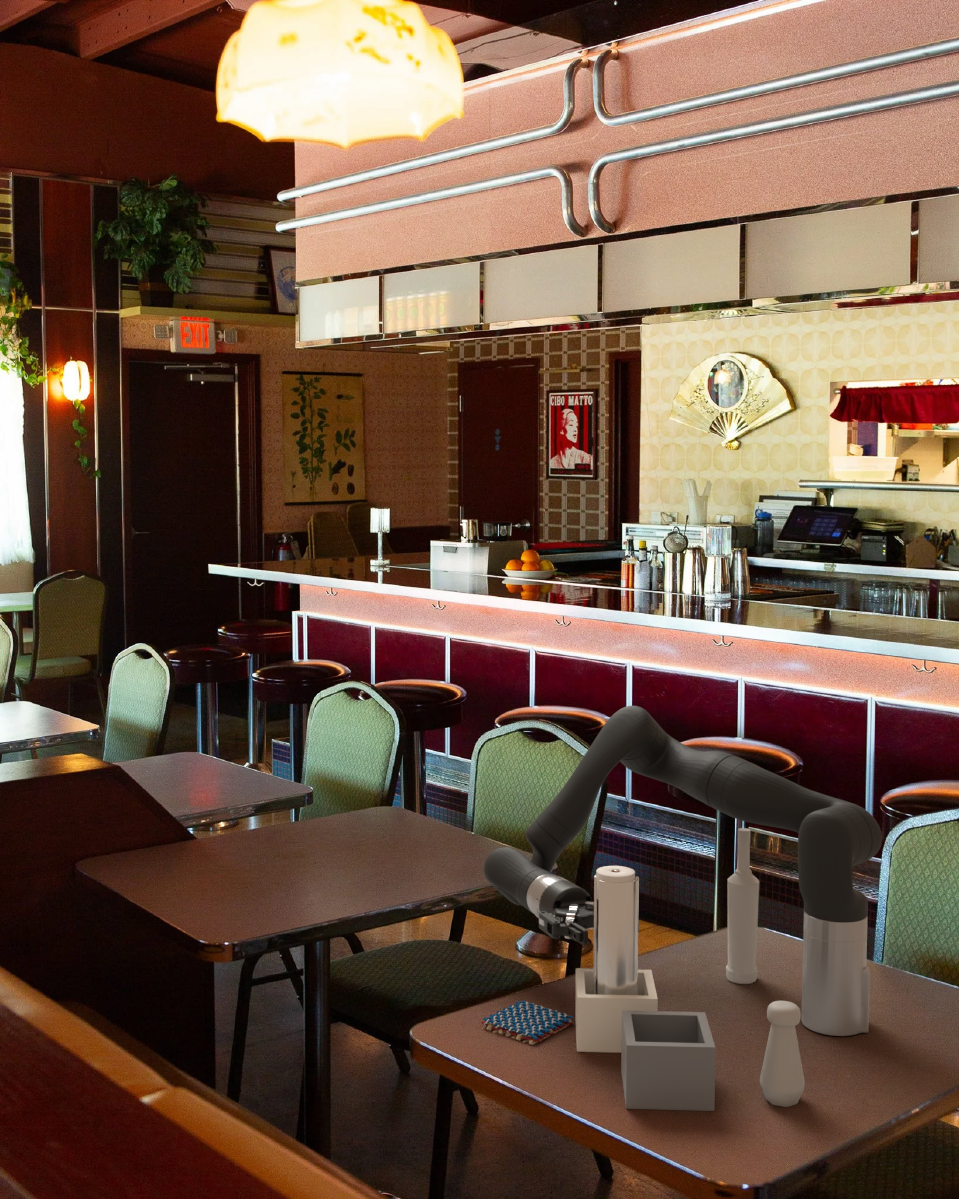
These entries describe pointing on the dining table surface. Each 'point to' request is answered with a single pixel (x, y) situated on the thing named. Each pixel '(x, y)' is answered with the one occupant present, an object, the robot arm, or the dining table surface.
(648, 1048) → the grey open box
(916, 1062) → the dining table surface
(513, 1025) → the woven mat
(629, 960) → the silver tall cylinder
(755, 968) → the bottle
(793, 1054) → the salt shaker
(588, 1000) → the white open box
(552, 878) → the robot arm
